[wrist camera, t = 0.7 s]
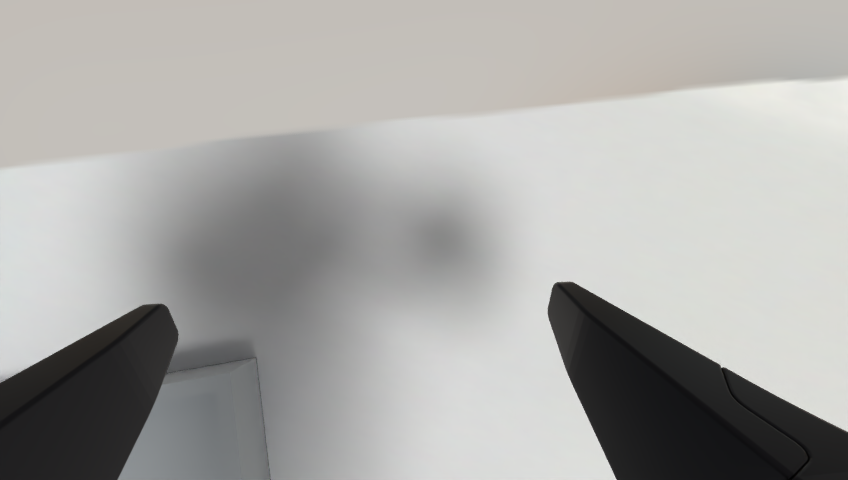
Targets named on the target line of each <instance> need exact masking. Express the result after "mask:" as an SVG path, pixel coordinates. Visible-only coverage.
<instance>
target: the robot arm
mask: <svg viewBox="0 0 848 480" xmlns="http://www.w3.org/2000/svg"><path fill="white" fill-rule="evenodd" d="M548 317H549V321H550V324H551V327H552V330H553V333H554V335H555V338H556V341H557V344H558V347H559V350H560V353H561V356H562V359H563V362H564V365H565V368H566V371H567V373H568V376H569V378H570V380H571V382H572V385H573V387H574V389H575V391H576V393H577V395H578V398H579V400H580V402H581V404H582V406H583V408H584V410H585V413H586V415H587V417H588V419H589V421H590V423H591V425H592V428H593V430H594V432H595V434H596V436H597V438H598V441H599V443H600V445H601V447H602V449H603V451H604V453H605V456H606V458H607V460H608V462H609V464H610V466H611V468H612V471H613V473H614V475H615V477H616V479H617V480H848V432H846V431H844V430H842V429H840V428H838V427H836V426H834V425H832V424H830V423H828V422H826V421H824V420H822V419H820V418H818V417H816V416H814V415H812V414H811V413H809V412H807V411H805V410H803V409H801V408H799V407H797V406H795V405H793V404H791V403H789V402H787V401H785V400H783V399H781V398H779V397H777V396H775V395H774V394H772V393H770V392H768V391H766V390H764V389H763V388H761V387H759V386H757V385H755V384H753V383H752V382H750V381H748V380H746V379H744V378H742V377H741V376H739V375H737V374H735V373H734V372H732V371H730V370H728V369H727V368H724V367H723V368H721V366H720V365H719V364H718V363H716V362H714V361H712V360H710V359H709V358H707V357H705V356H703V355H701V354H700V353H698V352H696V351H694V350H693V349H691V348H689V347H687V346H685V345H684V344H682V343H680V342H678V341H677V340H675V339H673V338H671V337H669V336H668V335H666V334H664V333H662V332H661V331H659V330H657V329H655V328H653V327H652V326H650V325H648V324H646V323H645V322H643V321H641V320H639V319H637V318H636V317H634V316H632V315H630V314H629V313H627V312H625V311H623V310H621V309H620V308H618V307H616V306H614V305H612V304H611V303H609V302H607V301H605V300H604V299H602V298H600V297H598V296H596V295H595V294H593V293H591V292H589V291H588V290H586V289H584V288H582V287H580V286H579V285H577V284H575V283H573V282H557V283H555V284H554V285H553V288H552V292H551V297H550V301H549V306H548ZM177 342H178V330H177V328H176V325H175V323H174V321H173V318H172V316H171V314H170V312H169V309H168V308H167V306H165V305H164V304H147V305H142V306H140V307H138V308H136V309H134V310H133V311H131V312H129V313H127V314H125V315H123V316H122V317H120V318H118V319H116V320H114V321H113V322H111V323H109V324H107V325H105V326H103V327H102V328H100V329H98V330H96V331H94V332H92V333H91V334H89V335H87V336H85V337H83V338H82V339H80V340H78V341H76V342H74V343H72V344H71V345H69V346H67V347H65V348H63V349H61V350H60V351H58V352H56V353H54V354H52V355H51V356H49V357H47V358H45V359H43V360H41V361H40V362H38V363H36V364H34V365H32V366H30V367H29V368H27V369H25V370H23V371H21V372H20V373H18V374H16V375H14V376H12V377H10V378H9V379H7V380H5V381H3V382H1V383H0V480H118V478H119V476H120V474H121V472H122V470H123V468H124V466H125V464H126V462H127V460H128V458H129V456H130V454H131V452H132V450H133V448H134V446H135V444H136V441H137V439H138V437H139V435H140V433H141V431H142V429H143V427H144V425H145V423H146V421H147V419H148V417H149V415H150V413H151V410H152V408H153V406H154V404H155V401H156V399H157V396H158V394H159V391H160V389H161V386H162V383H163V380H164V378H165V375H166V372H167V369H168V367H169V364H170V361H171V358H172V356H173V353H174V350H175V347H176V345H177Z"/></svg>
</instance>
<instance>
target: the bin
mask: <svg viewBox="0 0 848 480" xmlns="http://www.w3.org/2000/svg"><path fill="white" fill-rule="evenodd" d="M118 480H270V472H269V464H268V455H267V447H266V439H265V430H264V422H263V413H262V405H261V396H260V388H259V379H258V371H257V362H256V358H251V359H246V360H240V361H234V362H229V363H223V364H217V365H212V366H206V367H200V368H195V369H189V370H183V371H178V372H172V373H167V374H166V375H165V378H164V380H163V383H162V386H161V389H160V391H159V394H158V396H157V399H156V401H155V404H154V406H153V408H152V410H151V413H150V415H149V417H148V419H147V421H146V423H145V425H144V427H143V429H142V431H141V433H140V435H139V437H138V439H137V441H136V444H135V446H134V448H133V450H132V452H131V454H130V456H129V458H128V460H127V462H126V464H125V466H124V468H123V470H122V472H121V474H120V476H119V478H118Z"/></svg>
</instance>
